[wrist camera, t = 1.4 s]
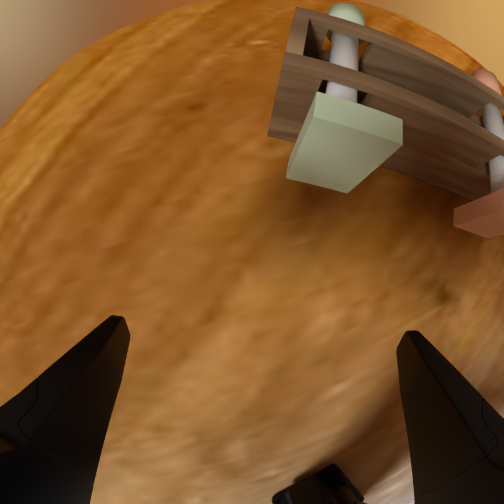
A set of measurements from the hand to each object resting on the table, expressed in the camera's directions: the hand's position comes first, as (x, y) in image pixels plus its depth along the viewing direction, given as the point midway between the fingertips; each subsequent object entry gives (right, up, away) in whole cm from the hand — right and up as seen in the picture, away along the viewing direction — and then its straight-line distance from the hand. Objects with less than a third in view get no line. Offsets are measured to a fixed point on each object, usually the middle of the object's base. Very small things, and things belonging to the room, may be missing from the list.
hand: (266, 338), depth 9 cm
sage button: (+5, +14, +12) cm, 19 cm away
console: (+12, +13, +15) cm, 23 cm away
